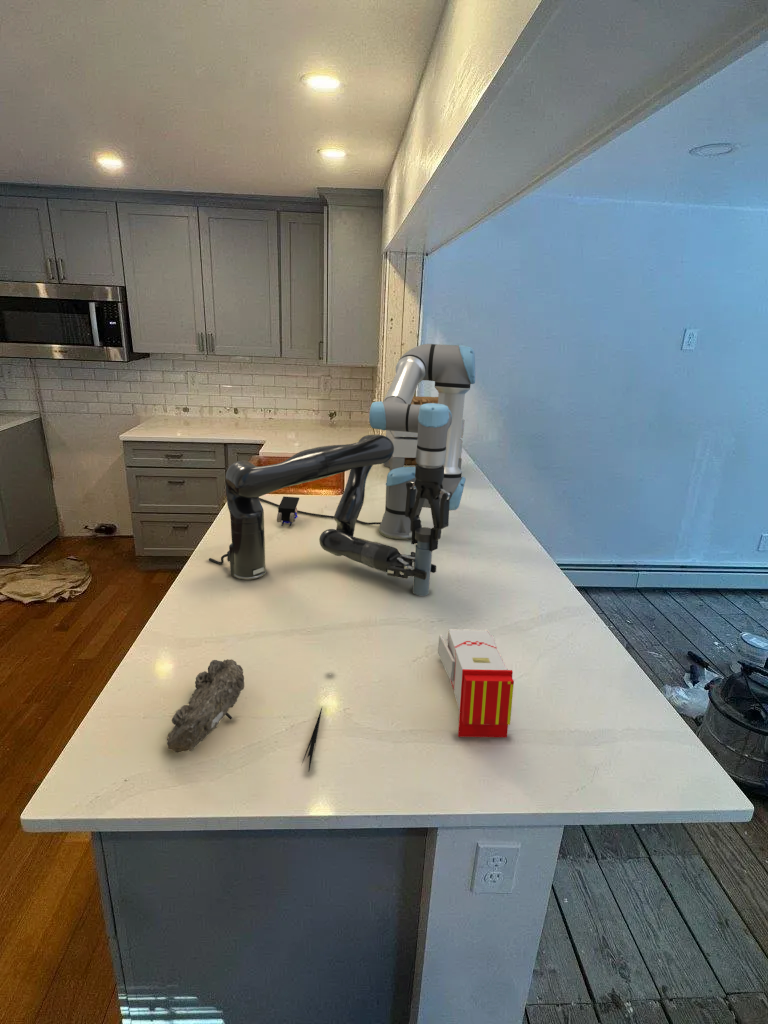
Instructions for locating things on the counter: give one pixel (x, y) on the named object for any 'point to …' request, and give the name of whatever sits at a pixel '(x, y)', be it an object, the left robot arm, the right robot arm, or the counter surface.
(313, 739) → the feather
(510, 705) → the toy
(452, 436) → the right robot arm
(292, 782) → the counter surface
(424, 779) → the counter surface
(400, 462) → the grey slatted wooden crate
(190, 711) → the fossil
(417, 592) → the grey cylinder
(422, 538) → the lid
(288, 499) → the figurine character
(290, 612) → the counter surface
